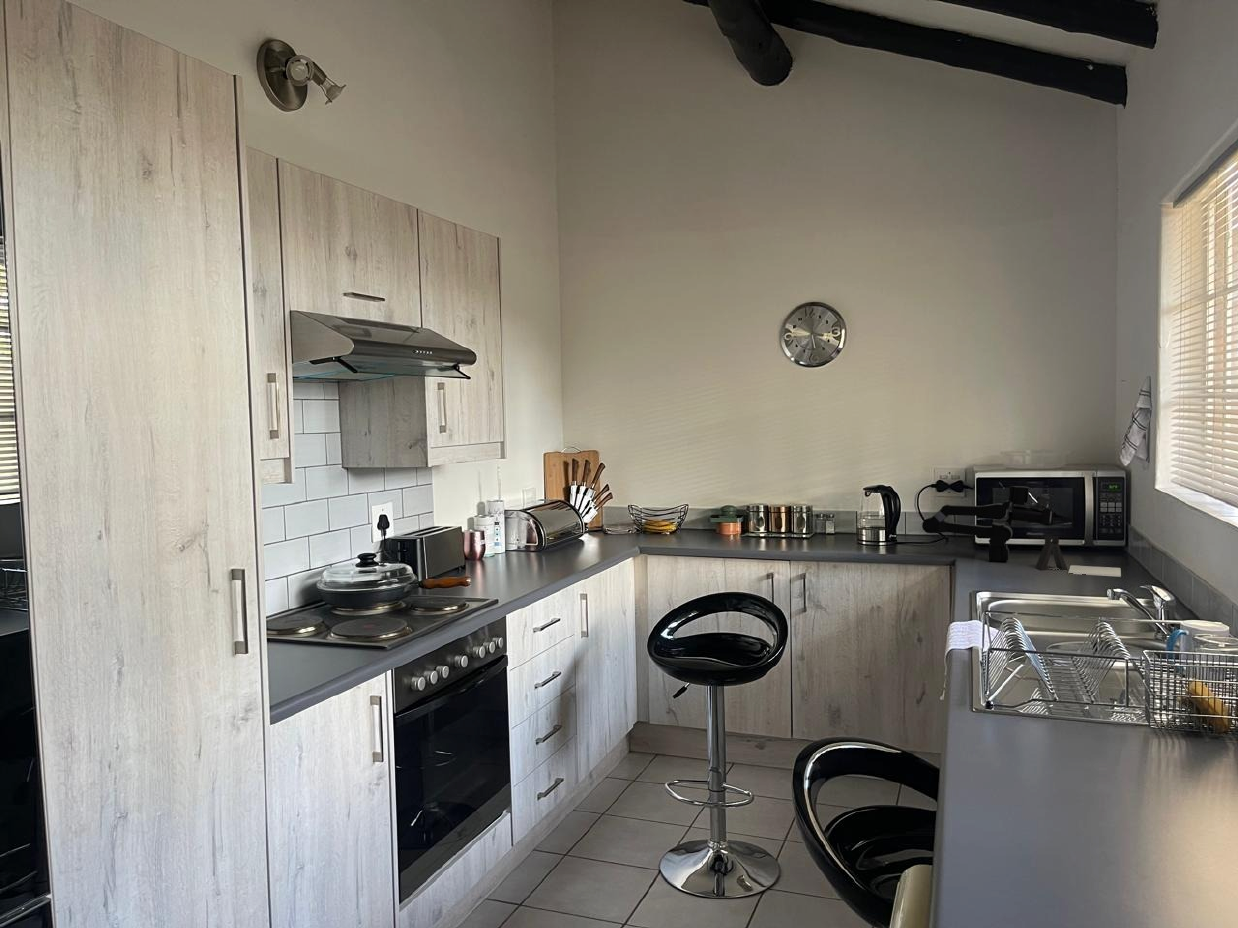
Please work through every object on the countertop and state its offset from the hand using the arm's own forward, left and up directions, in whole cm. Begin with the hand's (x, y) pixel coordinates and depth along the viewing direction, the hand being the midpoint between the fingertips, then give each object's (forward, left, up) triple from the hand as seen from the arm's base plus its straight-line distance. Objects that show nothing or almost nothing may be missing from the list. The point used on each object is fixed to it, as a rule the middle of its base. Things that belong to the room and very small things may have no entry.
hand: (1072, 520), depth 356 cm
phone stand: (-6, -14, -17) cm, 23 cm away
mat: (+8, -14, -16) cm, 23 cm away
